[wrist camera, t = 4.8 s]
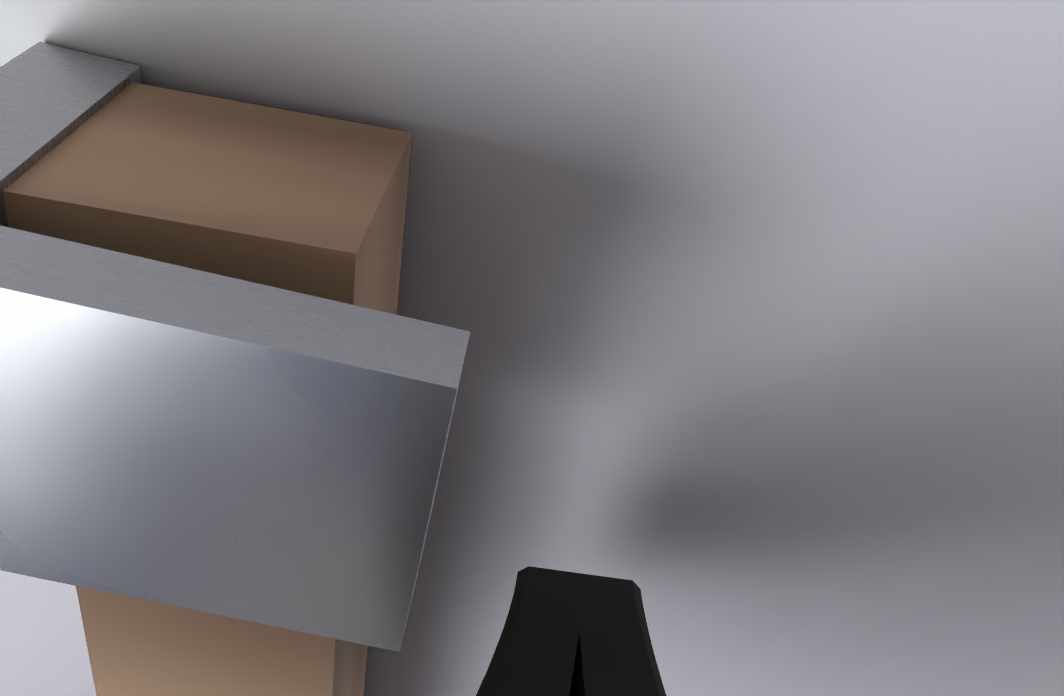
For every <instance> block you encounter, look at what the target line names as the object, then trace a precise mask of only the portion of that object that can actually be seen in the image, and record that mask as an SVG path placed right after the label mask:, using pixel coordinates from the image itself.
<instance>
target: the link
mask: <svg viewBox="0 0 1064 696" xmlns="http://www.w3.org/2000/svg"><path fill="white" fill-rule="evenodd" d="M411 144H412V132H406V131H401V130H395V129H389V128H384V127H378V126H373V125H367V124H362V123H356V122H351V121H345V120H339V119H334V118H328V117H323V116H317V115H312V114H306V113H300V112H295V111H289V110H284V109H278V108H273V107H267V106H261V105H256V104H250V103H245V102H239V101H234V100H228V99H223V98H217V97H211V96H206V95H200V94H195V93H189V92H184V91H178V90H172V89H167V88H161V87H156V86H150V85H145V84H139V83H134V82H132V83H131V84H130V85H129V86H127V87H126V88H125V89H124V90H123V91H121V92H120V93H119V94H118V95H117V96H116V97H114V98H113V99H112V100H111V101H110V102H108V103H107V104H106V105H105V106H104V107H102V108H101V109H100V110H99V111H98V112H97V113H95V114H94V115H93V116H92V117H91V118H89V119H88V120H87V121H86V122H85V123H83V124H82V125H81V126H80V127H79V128H78V129H76V130H75V131H74V132H73V133H72V134H70V135H69V136H68V137H67V138H66V139H64V140H63V141H62V142H61V143H60V144H59V145H57V146H56V147H55V148H54V149H53V150H51V151H50V152H49V153H48V154H47V155H45V156H44V157H43V158H42V159H41V160H40V161H38V162H37V163H36V164H35V165H34V166H32V167H31V168H30V169H29V170H28V171H26V172H25V173H24V174H23V175H22V176H21V177H19V178H18V179H17V180H16V181H15V182H13V183H12V184H11V185H10V186H9V187H7V188H6V189H5V190H4V191H3V194H4V202H5V210H6V217H7V222H8V227H9V228H14V229H18V230H23V231H27V232H32V233H36V234H40V235H45V236H49V237H54V238H58V239H63V240H67V241H72V242H76V243H80V244H85V245H89V246H94V247H98V248H103V249H107V250H111V251H116V252H120V253H125V254H129V255H134V256H138V257H143V258H147V259H151V260H156V261H160V262H165V263H169V264H174V265H178V266H183V267H187V268H191V269H196V270H200V271H205V272H209V273H214V274H218V275H222V276H227V277H231V278H236V279H240V280H245V281H249V282H254V283H258V284H262V285H267V286H271V287H276V288H280V289H285V290H289V291H294V292H298V293H302V294H307V295H311V296H316V297H320V298H325V299H329V300H333V301H338V302H342V303H347V304H351V305H356V306H360V307H365V308H369V309H373V310H378V311H382V312H387V313H391V314H396V315H397V306H398V294H399V283H400V271H401V259H402V248H403V236H404V225H405V213H406V202H407V190H408V178H409V167H410V155H411ZM76 589H77V594H78V599H79V604H80V610H81V615H82V620H83V626H84V631H85V636H86V642H87V647H88V652H89V658H90V663H91V668H92V673H93V679H94V684H95V689H96V695H97V696H364V688H365V677H366V665H367V654H368V646H367V645H362V644H358V643H353V642H348V641H343V640H338V639H333V638H328V637H324V636H319V635H314V634H309V633H304V632H299V631H294V630H290V629H285V628H280V627H275V626H270V625H265V624H260V623H256V622H251V621H246V620H241V619H236V618H231V617H226V616H221V615H217V614H212V613H207V612H202V611H197V610H192V609H187V608H183V607H178V606H173V605H168V604H163V603H158V602H153V601H149V600H144V599H139V598H134V597H129V596H124V595H119V594H115V593H110V592H105V591H100V590H95V589H90V588H85V587H81V586H76Z"/></svg>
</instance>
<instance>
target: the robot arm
mask: <svg viewBox="0 0 1064 696" xmlns="http://www.w3.org/2000/svg"><path fill="white" fill-rule="evenodd" d="M476 696H666V694H665V690H664V687H663V684H662V680H661V677H660V673H659V670H658V666H657V663H656V659H655V655H654V652H653V648H652V644H651V640H650V636H649V632H648V627H647V623H646V618H645V613H644V608H643V603H642V597H641V590H640V588H639V587H638V586H637V585H636V584H635V583H634V581H632V580H624V579H617V578H610V577H602V576H595V575H588V574H580V573H573V572H566V571H558V570H551V569H544V568H536V567H527V568H525V569H523V570H521V571H519V572H518V575H517V580H516V586H515V591H514V595H513V599H512V602H511V606H510V610H509V613H508V616H507V619H506V623H505V626H504V628H503V631H502V634H501V637H500V640H499V642H498V645H497V647H496V650H495V652H494V655H493V658H492V660H491V663H490V665H489V668H488V670H487V673H486V675H485V677H484V679H483V681H482V684H481V686H480V688H479V690H478V692H477V695H476Z"/></svg>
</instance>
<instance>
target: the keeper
mask: <svg viewBox="0 0 1064 696" xmlns="http://www.w3.org/2000/svg"><path fill="white" fill-rule="evenodd" d="M132 82H134V83H139V84H141V66H140V65H135V64H131V63H127V62H123V61H118V60H114V59H110V58H106V57H102V56H97V55H93V54H89V53H85V52H80V51H76V50H72V49H68V48H63V47H59V46H55V45H51V44H46V43H42V42H39V43H37V44H36V45H34V46H33V47H31V48H29V49H28V50H26V51H25V52H23V53H22V54H20V55H19V56H17V57H15V58H14V59H12V60H11V61H9V62H8V63H6V64H5V65H3V66H1V67H0V570H3V571H8V572H12V573H17V574H22V575H27V576H32V577H37V578H42V579H47V580H51V581H56V582H61V583H66V584H71V585H76V586H81V587H85V588H90V589H95V590H100V591H105V592H110V593H115V594H119V595H124V596H129V597H134V598H139V599H144V600H149V601H153V602H158V603H163V604H168V605H173V606H178V607H183V608H187V609H192V610H197V611H202V612H207V613H212V614H217V615H221V616H226V617H231V618H236V619H241V620H246V621H251V622H256V623H260V624H265V625H270V626H275V627H280V628H285V629H290V630H294V631H299V632H304V633H309V634H314V635H319V636H324V637H328V638H333V639H338V640H343V641H348V642H353V643H358V644H362V645H367V646H372V647H377V648H382V649H387V650H392V651H396V652H400V650H401V646H402V642H403V637H404V633H405V629H406V624H407V620H408V616H409V612H410V607H411V603H412V599H413V595H414V590H415V586H416V581H417V577H418V572H419V567H420V563H421V558H422V554H423V549H424V544H425V540H426V535H427V530H428V526H429V521H430V517H431V512H432V507H433V503H434V498H435V494H436V489H437V484H438V480H439V475H440V471H441V466H442V461H443V457H444V452H445V448H446V443H447V438H448V434H449V429H450V424H451V420H452V415H453V411H454V406H455V401H456V397H457V392H458V388H459V383H460V378H461V374H462V369H463V365H464V360H465V355H466V351H467V346H468V342H469V337H470V332H471V331H467V330H462V329H458V328H453V327H449V326H444V325H440V324H436V323H431V322H427V321H422V320H418V319H413V318H409V317H405V316H400V315H396V314H391V313H387V312H382V311H378V310H373V309H369V308H365V307H360V306H356V305H351V304H347V303H342V302H338V301H333V300H329V299H325V298H320V297H316V296H311V295H307V294H302V293H298V292H294V291H289V290H285V289H280V288H276V287H271V286H267V285H262V284H258V283H254V282H249V281H245V280H240V279H236V278H231V277H227V276H222V275H218V274H214V273H209V272H205V271H200V270H196V269H191V268H187V267H183V266H178V265H174V264H169V263H165V262H160V261H156V260H151V259H147V258H143V257H138V256H134V255H129V254H125V253H120V252H116V251H111V250H107V249H103V248H98V247H94V246H89V245H85V244H80V243H76V242H72V241H67V240H63V239H58V238H54V237H49V236H45V235H40V234H36V233H32V232H27V231H23V230H18V229H14V228H9V227H8V222H7V217H6V210H5V202H4V194H3V191H4V190H5V189H6V188H7V187H9V186H10V185H11V184H12V183H13V182H15V181H16V180H17V179H18V178H19V177H21V176H22V175H23V174H24V173H25V172H26V171H28V170H29V169H30V168H31V167H32V166H34V165H35V164H36V163H37V162H38V161H40V160H41V159H42V158H43V157H44V156H45V155H47V154H48V153H49V152H50V151H51V150H53V149H54V148H55V147H56V146H57V145H59V144H60V143H61V142H62V141H63V140H64V139H66V138H67V137H68V136H69V135H70V134H72V133H73V132H74V131H75V130H76V129H78V128H79V127H80V126H81V125H82V124H83V123H85V122H86V121H87V120H88V119H89V118H91V117H92V116H93V115H94V114H95V113H97V112H98V111H99V110H100V109H101V108H102V107H104V106H105V105H106V104H107V103H108V102H110V101H111V100H112V99H113V98H114V97H116V96H117V95H118V94H119V93H120V92H121V91H123V90H124V89H125V88H126V87H127V86H129V85H130V84H131V83H132Z"/></svg>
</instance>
